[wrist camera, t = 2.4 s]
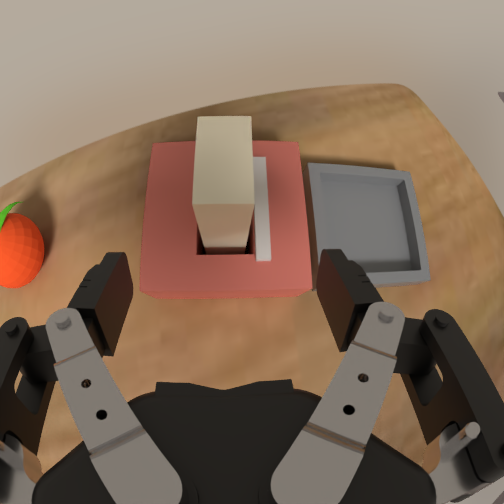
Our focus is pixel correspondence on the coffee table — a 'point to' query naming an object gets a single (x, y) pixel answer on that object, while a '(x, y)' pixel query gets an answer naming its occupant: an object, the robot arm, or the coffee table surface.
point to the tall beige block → (223, 183)
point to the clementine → (19, 249)
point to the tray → (366, 221)
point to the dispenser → (259, 238)
